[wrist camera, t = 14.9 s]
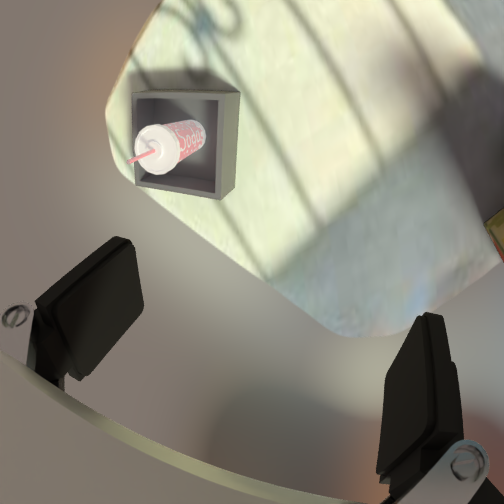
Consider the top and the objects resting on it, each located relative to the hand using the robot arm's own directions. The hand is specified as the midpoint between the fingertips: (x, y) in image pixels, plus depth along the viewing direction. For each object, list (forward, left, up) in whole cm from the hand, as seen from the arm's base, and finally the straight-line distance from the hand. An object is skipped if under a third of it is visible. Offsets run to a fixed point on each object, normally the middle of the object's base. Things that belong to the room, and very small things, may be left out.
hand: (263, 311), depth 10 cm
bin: (+3, -20, -33) cm, 39 cm away
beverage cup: (+3, -20, -33) cm, 38 cm away
